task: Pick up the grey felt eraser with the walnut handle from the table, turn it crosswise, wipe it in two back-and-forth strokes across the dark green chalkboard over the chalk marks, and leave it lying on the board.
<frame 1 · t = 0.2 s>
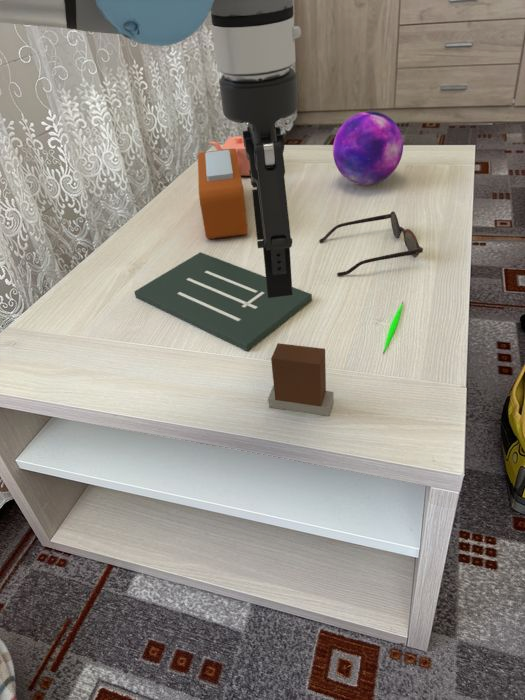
hand: (273, 264, 66), 17 cm above the table, tool pointing down, fingers open, 13 cm apart
decorative orb: (366, 182, 125), on the table
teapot: (242, 172, 136), on the table
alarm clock: (224, 215, 118), on the table
leaf: (393, 329, 83), on the table
chalkboard: (221, 298, 92), on the table
eraser: (301, 403, 72), on the table
eyeglasses: (366, 253, 101), on the table
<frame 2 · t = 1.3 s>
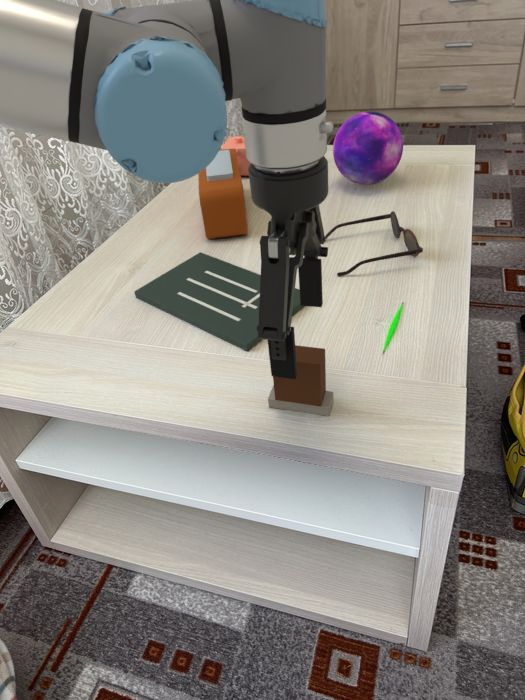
hand: (299, 337, 65), 11 cm above the table, tool pointing down, fingers open, 13 cm apart
nothing on the table moved.
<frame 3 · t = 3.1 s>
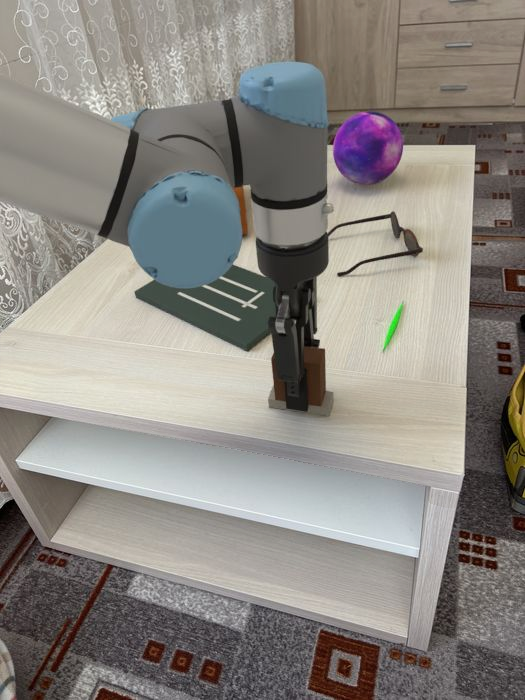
hand: (300, 397, 71), 1 cm above the table, tool pointing down, fingers closed on eraser, 3 cm apart
eraser: (301, 403, 72), on the table, touching gripper
everything else where it was.
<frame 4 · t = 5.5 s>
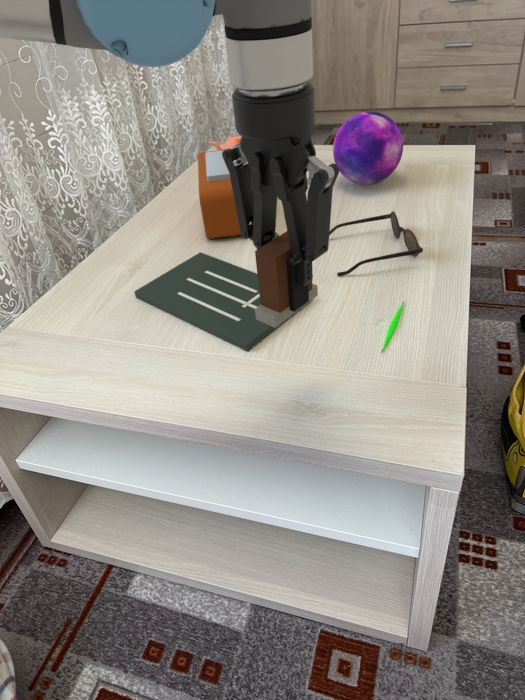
hand: (286, 299, 65), 15 cm above the table, tool pointing down, fingers closed on eraser, 3 cm apart
eraser: (287, 307, 65), point 14 cm above the table, touching gripper
everything else where it was.
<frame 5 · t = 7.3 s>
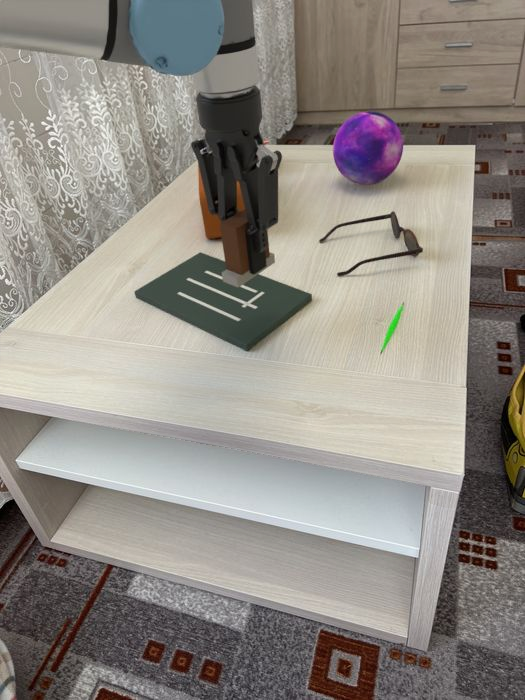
hand: (248, 265, 78), 11 cm above the table, tool pointing down, fingers closed on eraser, 3 cm apart
eraser: (249, 271, 79), point 10 cm above the table, touching gripper
everything else where it was.
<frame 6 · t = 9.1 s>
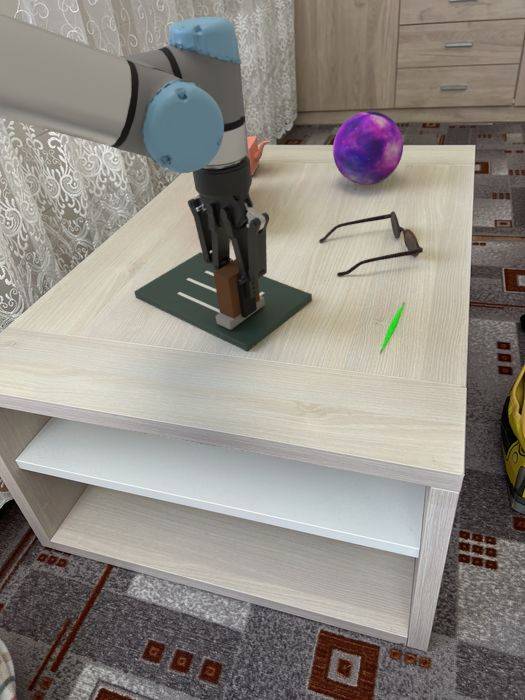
hand: (240, 308, 85), 3 cm above the table, tool pointing down, fingers closed on eraser, 3 cm apart
eraser: (241, 314, 86), point 2 cm above the table, touching gripper
everything else where it was.
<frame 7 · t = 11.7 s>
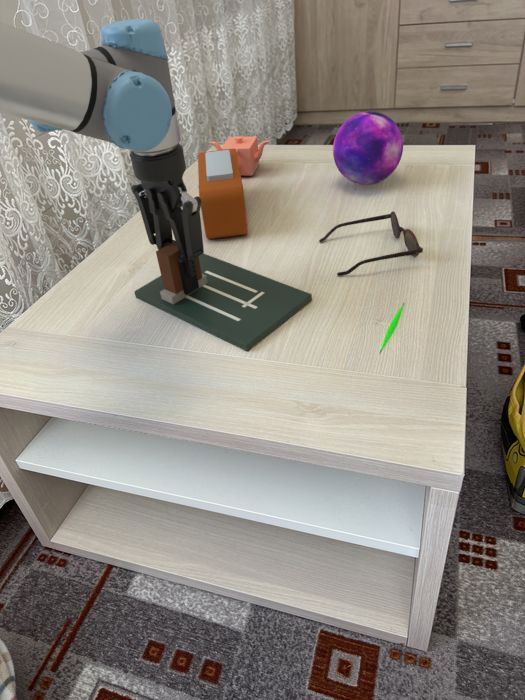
hand: (184, 287, 92), 2 cm above the table, tool pointing down, fingers closed on eraser, 3 cm apart
eraser: (185, 290, 93), point 1 cm above the table, touching gripper
everything else where it was.
when the fingers open (2 cm above the table, at t = 19.8 s): eraser stays where it is, resting on chalkboard.
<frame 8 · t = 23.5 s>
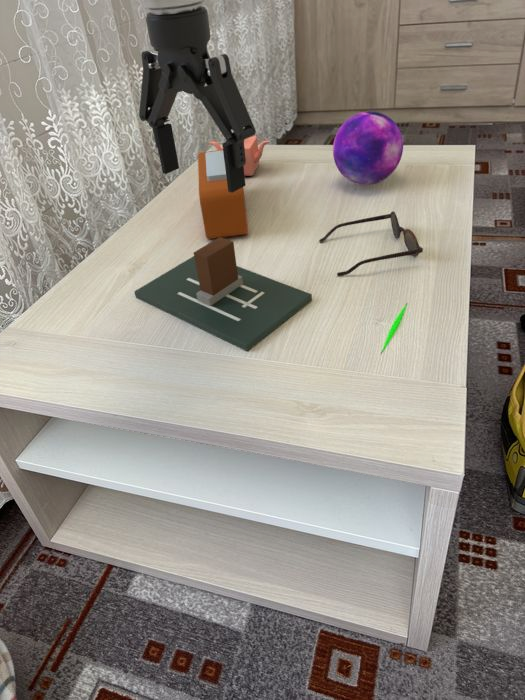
hand: (202, 179, 79), 21 cm above the table, tool pointing down, fingers open, 13 cm apart
eraser: (220, 292, 92), point 1 cm above the table, touching chalkboard
everything else where it was.
at the end: eraser inside the target area on the chalkboard (1.0 cm from its centre), point 1.2 cm above the chalkboard's base; eraser tilted 0°; the gripper is holding nothing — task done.
